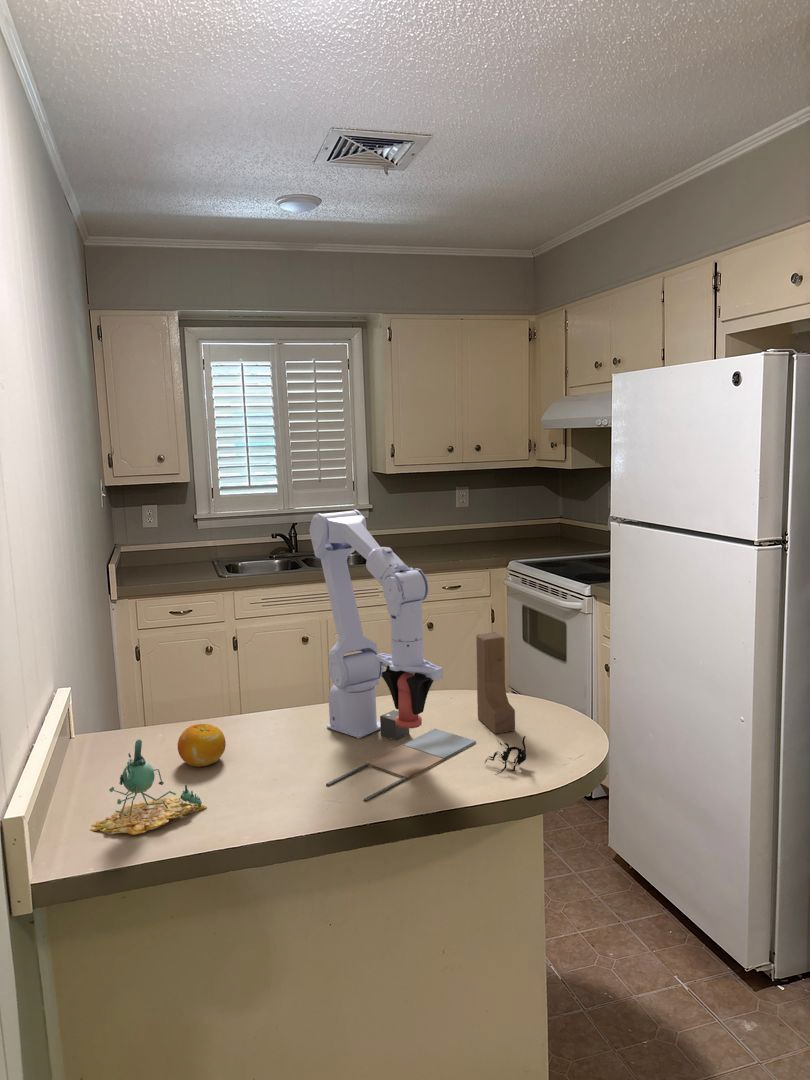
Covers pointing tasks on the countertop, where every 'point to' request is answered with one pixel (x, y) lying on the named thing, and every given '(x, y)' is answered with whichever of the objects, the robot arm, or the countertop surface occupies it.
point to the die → (391, 726)
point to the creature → (506, 753)
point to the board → (414, 756)
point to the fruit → (201, 745)
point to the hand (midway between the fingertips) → (409, 710)
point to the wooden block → (493, 684)
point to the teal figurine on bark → (148, 812)
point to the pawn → (406, 705)
